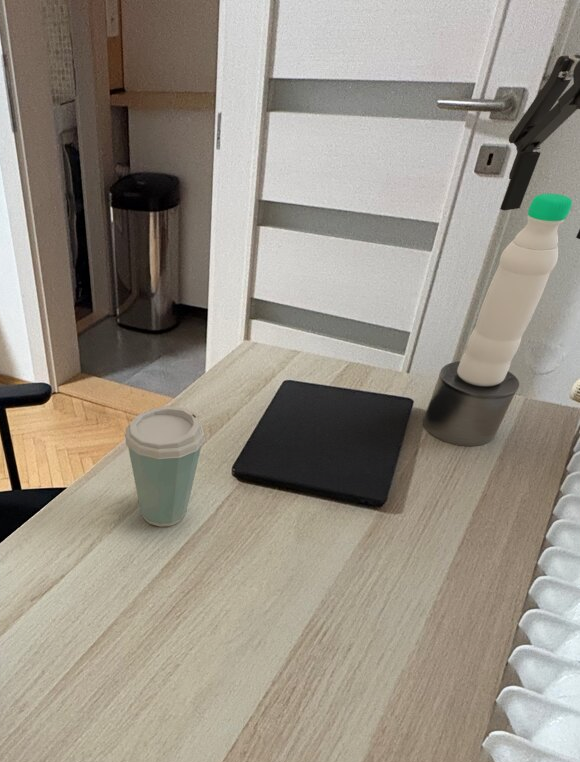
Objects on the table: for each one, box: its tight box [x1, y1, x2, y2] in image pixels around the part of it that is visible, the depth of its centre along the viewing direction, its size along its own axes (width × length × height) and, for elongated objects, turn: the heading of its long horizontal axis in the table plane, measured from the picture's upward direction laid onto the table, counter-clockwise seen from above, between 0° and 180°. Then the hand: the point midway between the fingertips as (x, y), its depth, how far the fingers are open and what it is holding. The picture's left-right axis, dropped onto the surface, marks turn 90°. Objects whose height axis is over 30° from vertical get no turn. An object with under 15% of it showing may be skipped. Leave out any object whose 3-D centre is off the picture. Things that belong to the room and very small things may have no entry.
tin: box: [422, 360, 520, 447], centre depth 102 cm, size 12×12×9 cm
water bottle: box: [457, 193, 573, 386], centre depth 90 cm, size 7×7×25 cm
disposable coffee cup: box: [124, 405, 206, 527], centre depth 86 cm, size 11×11×15 cm
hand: (545, 222), depth 83 cm, fingers open, 13 cm apart
